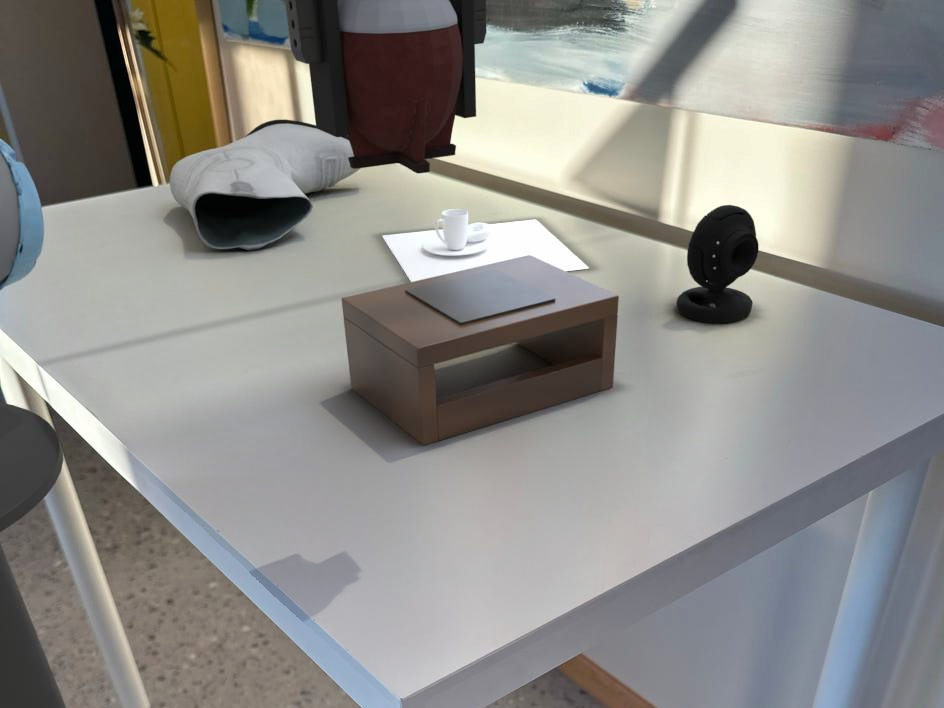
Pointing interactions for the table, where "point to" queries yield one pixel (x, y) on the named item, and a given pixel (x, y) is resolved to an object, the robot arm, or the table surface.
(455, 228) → the teacup and saucer
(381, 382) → the shelf
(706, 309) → the webcam
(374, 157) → the mate gourd
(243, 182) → the cowboy boot
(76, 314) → the table surface
